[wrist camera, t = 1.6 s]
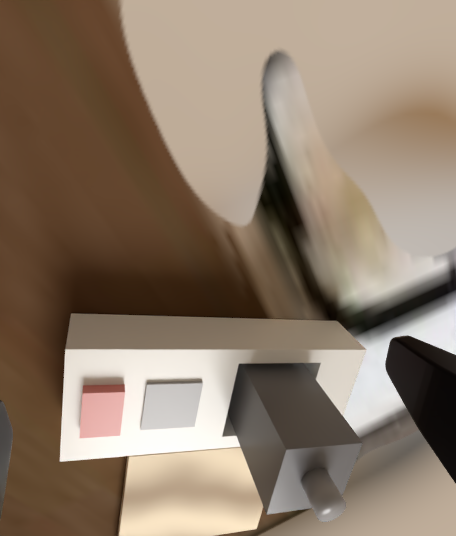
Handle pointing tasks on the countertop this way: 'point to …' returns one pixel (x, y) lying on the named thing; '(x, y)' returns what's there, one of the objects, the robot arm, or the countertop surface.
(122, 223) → the countertop surface
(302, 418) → the block
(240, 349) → the power strip
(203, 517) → the beige pad
